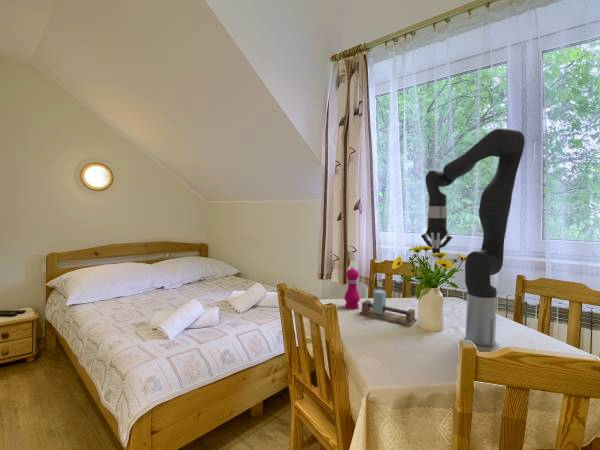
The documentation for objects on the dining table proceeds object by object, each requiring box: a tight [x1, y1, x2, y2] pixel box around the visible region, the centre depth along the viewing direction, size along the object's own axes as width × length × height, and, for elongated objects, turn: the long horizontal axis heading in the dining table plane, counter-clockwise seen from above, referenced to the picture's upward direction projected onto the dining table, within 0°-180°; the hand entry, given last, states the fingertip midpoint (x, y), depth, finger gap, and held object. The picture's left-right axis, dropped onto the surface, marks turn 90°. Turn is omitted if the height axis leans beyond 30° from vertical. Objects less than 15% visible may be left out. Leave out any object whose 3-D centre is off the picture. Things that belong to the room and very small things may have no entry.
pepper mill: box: [344, 266, 361, 310], centre depth 155 cm, size 7×7×20 cm
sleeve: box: [372, 289, 387, 315], centre depth 143 cm, size 4×4×9 cm
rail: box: [358, 299, 418, 327], centre depth 141 cm, size 23×8×5 cm, turn 53°
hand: (435, 256), depth 140 cm, fingers closed
